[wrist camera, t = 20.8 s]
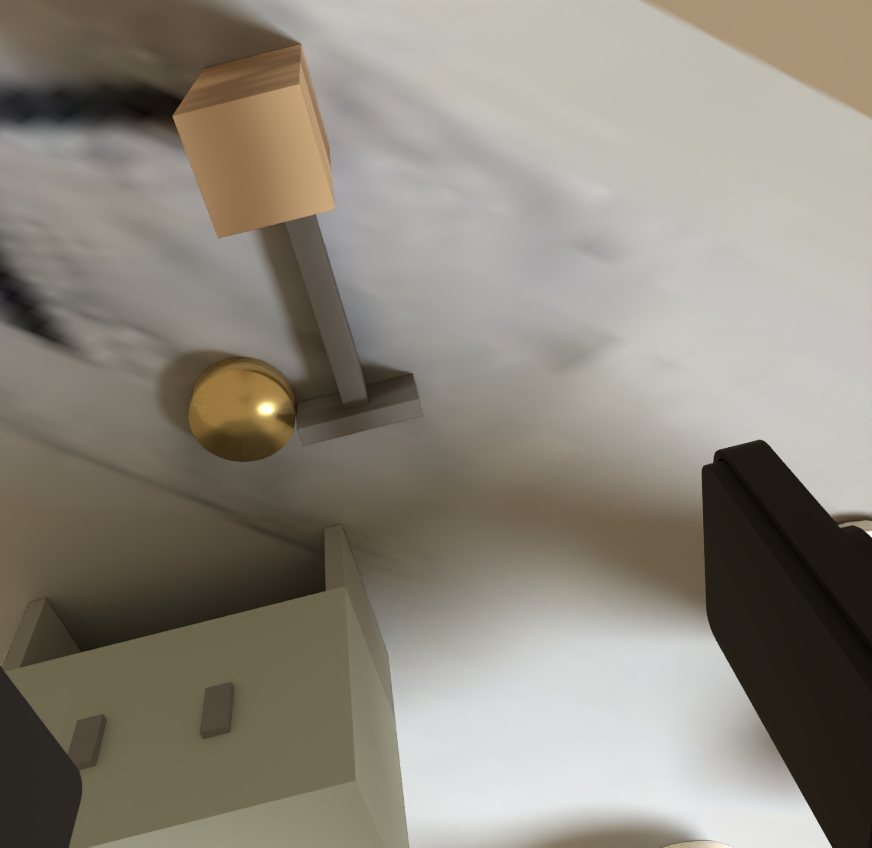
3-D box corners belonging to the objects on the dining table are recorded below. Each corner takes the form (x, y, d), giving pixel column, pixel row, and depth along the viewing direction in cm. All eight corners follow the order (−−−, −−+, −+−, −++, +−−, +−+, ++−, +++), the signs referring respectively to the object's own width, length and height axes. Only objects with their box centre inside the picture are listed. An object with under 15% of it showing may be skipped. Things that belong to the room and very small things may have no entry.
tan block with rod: (325, 37, 33) (331, 76, 25) (417, 390, 42) (441, 496, 34) (179, 74, 33) (140, 123, 25) (303, 419, 42) (302, 531, 34)
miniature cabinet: (339, 518, 45) (352, 773, 32) (388, 654, 52) (416, 916, 38) (24, 597, 45) (-95, 885, 32) (111, 723, 52) (42, 1010, 38)
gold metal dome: (313, 385, 41) (314, 403, 39) (264, 456, 43) (263, 476, 41) (222, 338, 39) (219, 356, 37) (175, 415, 41) (170, 435, 39)
